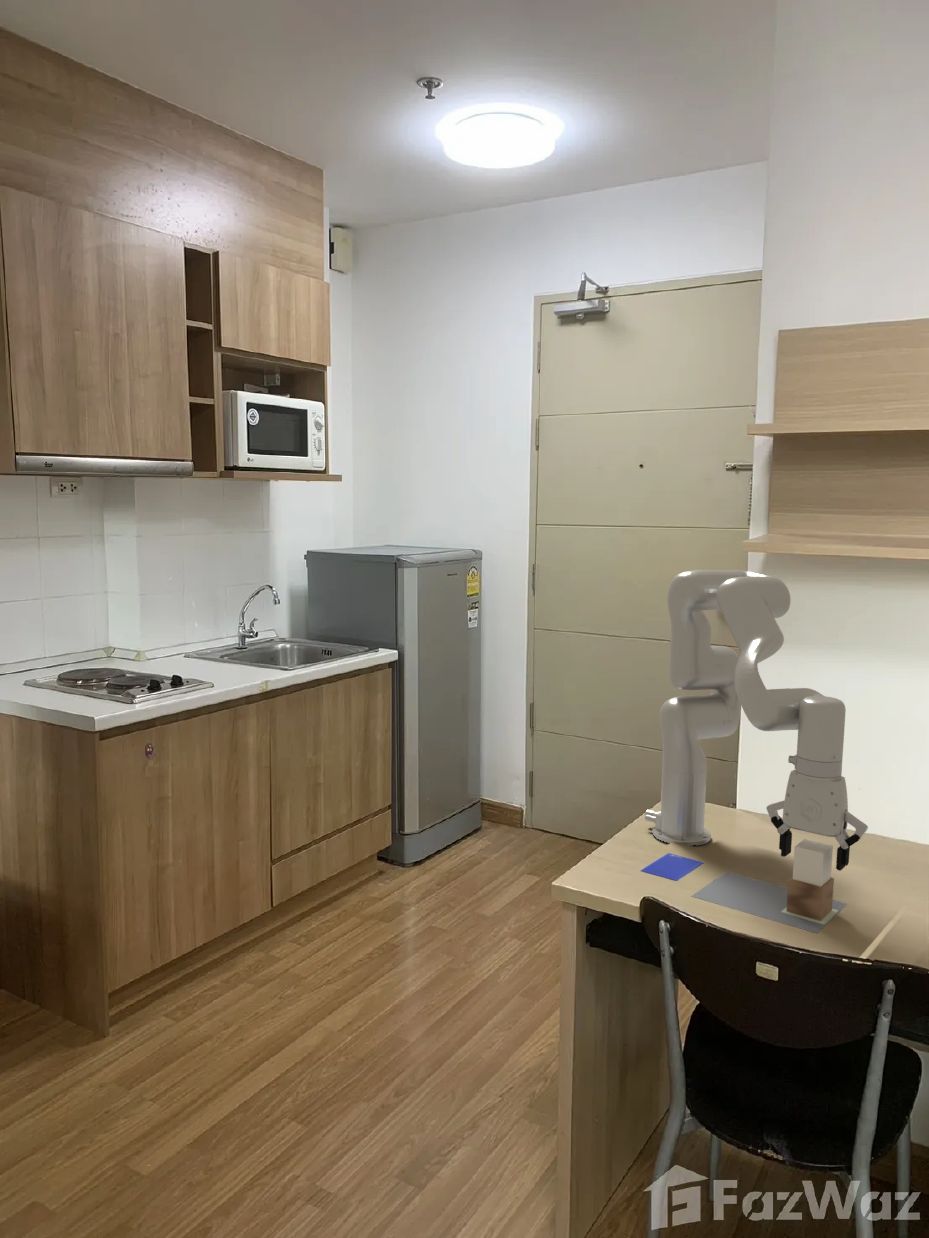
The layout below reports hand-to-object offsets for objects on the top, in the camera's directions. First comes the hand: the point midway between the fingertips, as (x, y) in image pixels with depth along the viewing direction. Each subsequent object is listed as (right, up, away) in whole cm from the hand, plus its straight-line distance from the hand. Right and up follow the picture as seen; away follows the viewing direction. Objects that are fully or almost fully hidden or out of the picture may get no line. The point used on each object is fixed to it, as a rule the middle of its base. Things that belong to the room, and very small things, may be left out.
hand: (812, 861), depth 164 cm
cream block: (0, -3, 0) cm, 3 cm away
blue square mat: (-20, -8, +21) cm, 31 cm away
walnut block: (0, -9, +1) cm, 9 cm away
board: (-6, -9, +6) cm, 13 cm away
